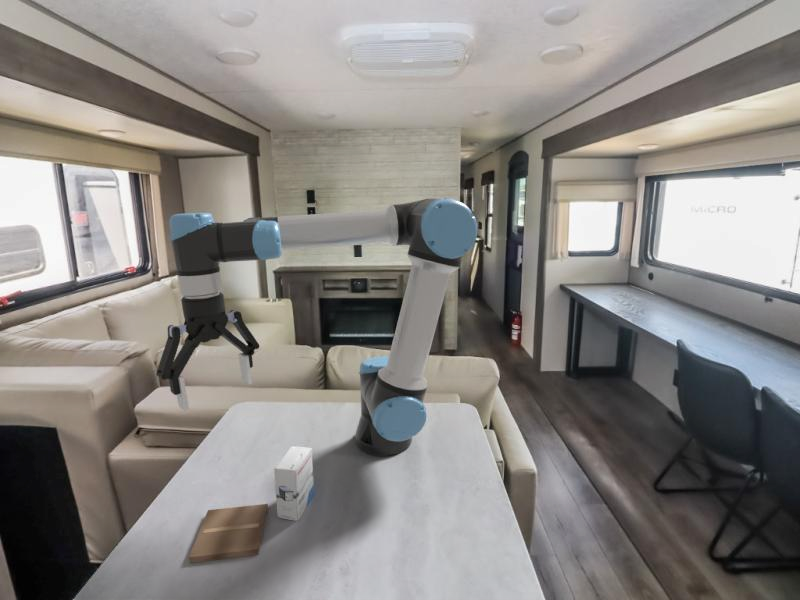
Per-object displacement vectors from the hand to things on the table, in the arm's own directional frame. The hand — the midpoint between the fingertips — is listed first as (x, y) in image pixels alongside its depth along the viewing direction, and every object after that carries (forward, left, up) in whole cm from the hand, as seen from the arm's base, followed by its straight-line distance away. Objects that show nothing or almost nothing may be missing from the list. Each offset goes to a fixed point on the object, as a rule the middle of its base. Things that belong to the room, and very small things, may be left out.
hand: (217, 394), depth 88 cm
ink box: (-15, +5, -25) cm, 29 cm away
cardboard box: (-3, +11, -25) cm, 27 cm away
